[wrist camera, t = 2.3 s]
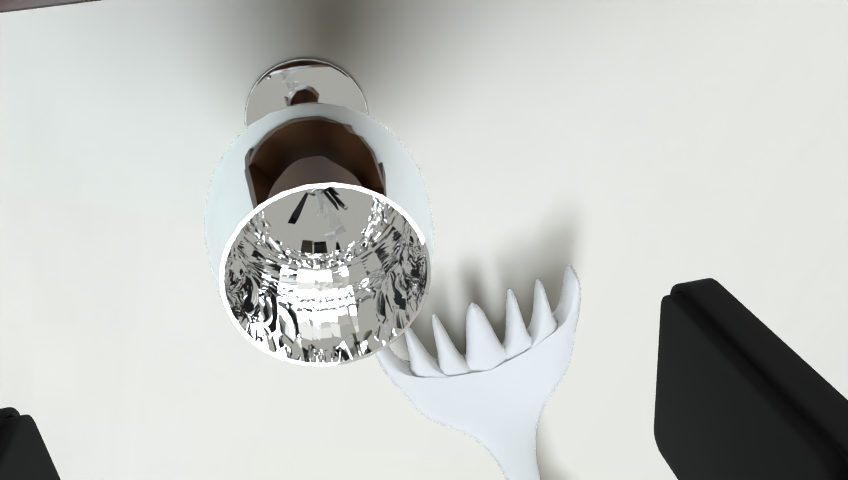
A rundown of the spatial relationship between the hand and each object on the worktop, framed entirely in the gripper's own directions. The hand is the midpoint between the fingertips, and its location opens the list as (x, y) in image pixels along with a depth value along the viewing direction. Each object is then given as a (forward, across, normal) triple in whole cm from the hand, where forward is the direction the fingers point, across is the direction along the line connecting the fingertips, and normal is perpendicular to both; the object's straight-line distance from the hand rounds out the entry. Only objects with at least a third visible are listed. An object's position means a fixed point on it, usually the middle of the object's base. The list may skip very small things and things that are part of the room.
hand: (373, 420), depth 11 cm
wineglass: (+18, 0, 0) cm, 18 cm away
